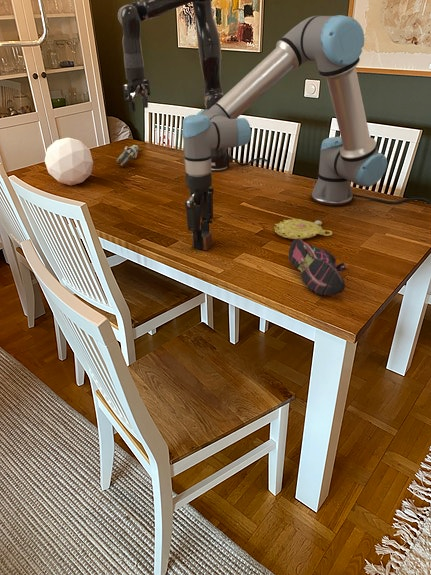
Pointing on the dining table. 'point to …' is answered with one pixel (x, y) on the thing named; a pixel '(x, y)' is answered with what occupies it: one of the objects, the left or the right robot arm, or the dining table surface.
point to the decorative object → (300, 229)
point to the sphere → (69, 161)
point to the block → (205, 240)
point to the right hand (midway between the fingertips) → (201, 245)
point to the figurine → (128, 154)
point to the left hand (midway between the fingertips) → (139, 109)
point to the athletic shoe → (317, 268)
